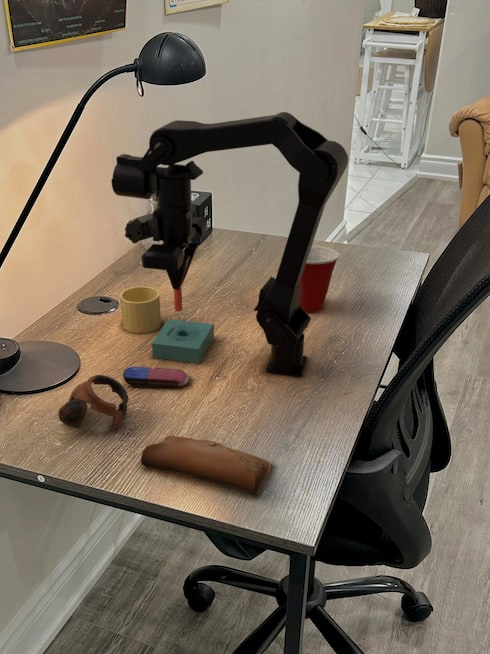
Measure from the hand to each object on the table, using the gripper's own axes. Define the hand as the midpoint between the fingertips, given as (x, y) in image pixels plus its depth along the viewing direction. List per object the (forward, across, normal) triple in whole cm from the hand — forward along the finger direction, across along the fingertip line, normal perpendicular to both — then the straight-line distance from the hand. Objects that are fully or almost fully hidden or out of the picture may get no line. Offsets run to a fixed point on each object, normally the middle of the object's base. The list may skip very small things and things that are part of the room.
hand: (177, 287), depth 130 cm
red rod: (+4, 0, 0) cm, 4 cm away
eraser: (+12, +14, 0) cm, 18 cm away
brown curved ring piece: (+12, +27, -6) cm, 31 cm away
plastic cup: (+12, -22, +21) cm, 33 cm away
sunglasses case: (+12, +34, +15) cm, 39 cm away
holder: (+12, 0, +1) cm, 12 cm away
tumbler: (+12, -7, -10) cm, 17 cm away
